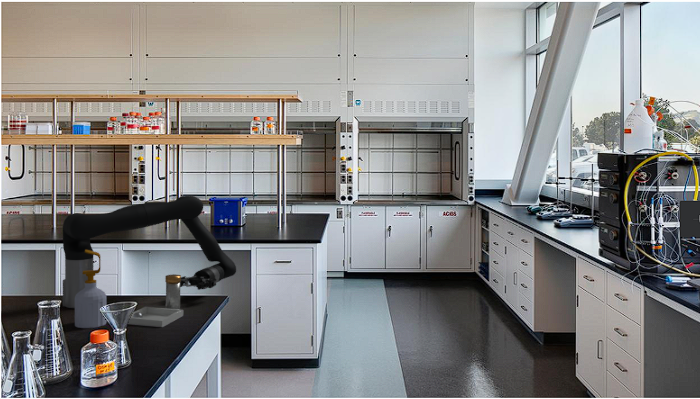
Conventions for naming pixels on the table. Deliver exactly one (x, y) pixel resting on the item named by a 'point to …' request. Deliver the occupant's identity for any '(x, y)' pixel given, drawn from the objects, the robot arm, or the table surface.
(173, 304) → the shaker
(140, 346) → the table surface
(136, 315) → the ball
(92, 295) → the soap bottle
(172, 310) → the tray
